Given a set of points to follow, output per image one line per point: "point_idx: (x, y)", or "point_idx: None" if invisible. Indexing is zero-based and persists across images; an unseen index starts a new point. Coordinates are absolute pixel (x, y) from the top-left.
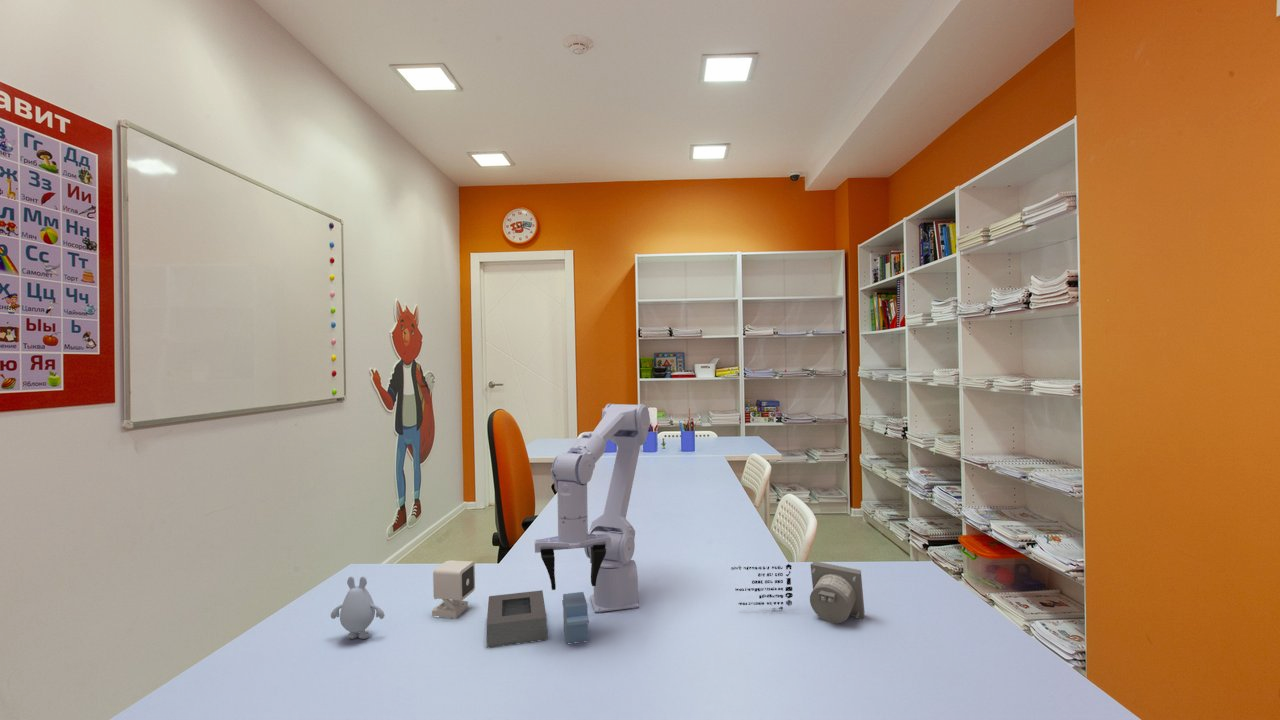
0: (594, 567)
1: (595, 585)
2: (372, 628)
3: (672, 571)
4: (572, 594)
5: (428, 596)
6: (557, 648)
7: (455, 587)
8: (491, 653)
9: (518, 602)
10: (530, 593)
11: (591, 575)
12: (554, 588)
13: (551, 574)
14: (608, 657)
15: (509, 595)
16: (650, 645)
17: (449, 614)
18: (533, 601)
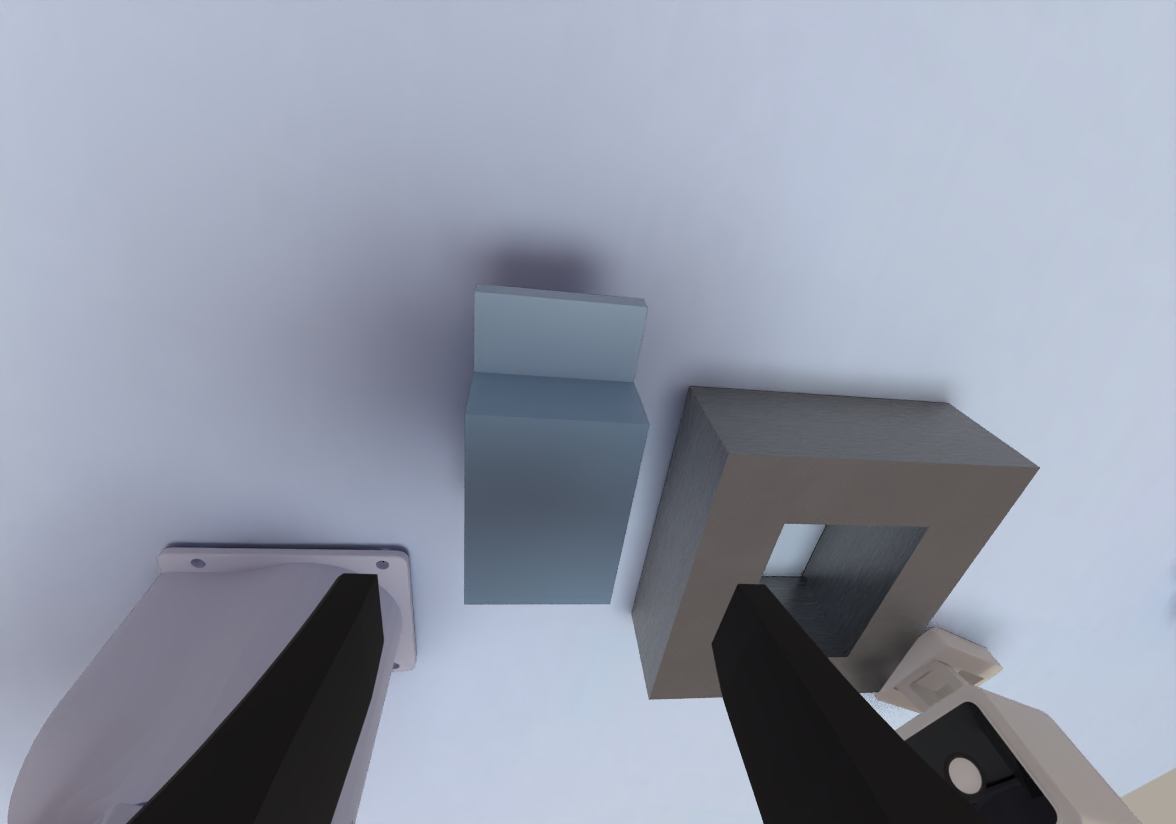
0: (243, 804)
1: (339, 578)
2: (1161, 623)
3: (3, 778)
4: (548, 586)
5: None
6: (665, 287)
7: (1036, 747)
8: (955, 351)
9: None
10: (711, 684)
11: (356, 704)
12: (752, 593)
13: (870, 733)
14: (383, 39)
15: None
16: (42, 87)
17: (956, 643)
18: None
